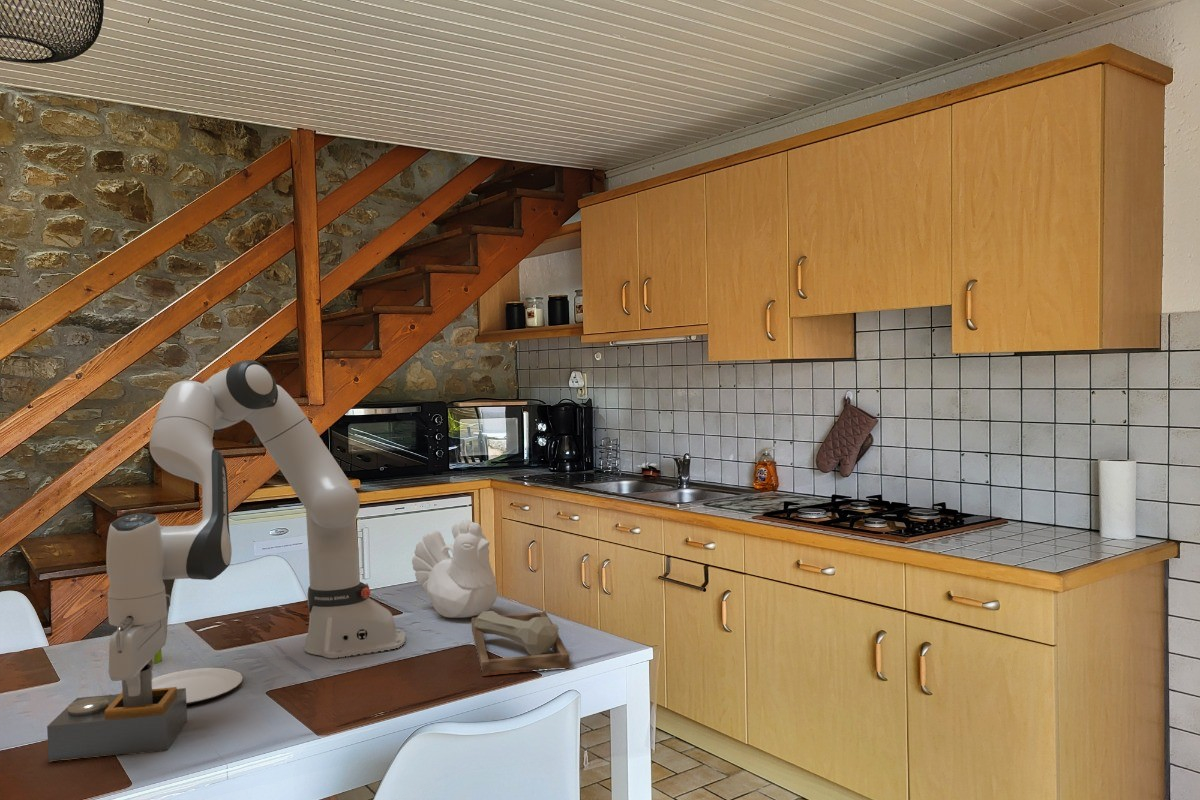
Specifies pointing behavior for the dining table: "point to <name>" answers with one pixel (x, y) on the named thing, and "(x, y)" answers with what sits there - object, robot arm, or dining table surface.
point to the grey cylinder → (146, 693)
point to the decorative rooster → (456, 571)
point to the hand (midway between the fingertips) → (140, 688)
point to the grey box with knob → (117, 725)
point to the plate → (200, 682)
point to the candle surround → (524, 662)
